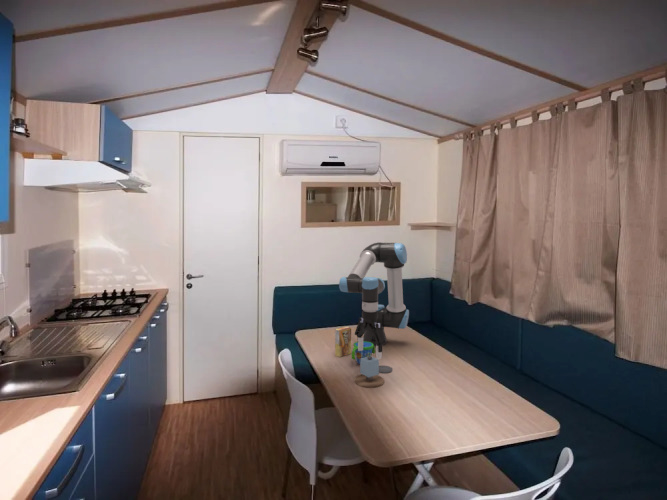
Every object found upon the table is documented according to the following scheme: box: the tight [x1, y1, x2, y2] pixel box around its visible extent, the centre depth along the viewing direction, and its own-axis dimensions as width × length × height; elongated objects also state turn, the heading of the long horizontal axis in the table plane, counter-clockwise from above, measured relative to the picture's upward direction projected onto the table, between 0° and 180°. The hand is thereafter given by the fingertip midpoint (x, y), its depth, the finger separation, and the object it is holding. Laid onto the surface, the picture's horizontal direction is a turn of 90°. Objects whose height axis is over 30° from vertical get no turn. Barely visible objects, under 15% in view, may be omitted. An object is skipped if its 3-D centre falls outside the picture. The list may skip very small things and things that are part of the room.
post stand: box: [354, 374, 385, 389], centre depth 190 cm, size 14×14×10 cm
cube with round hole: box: [359, 355, 380, 377], centre depth 189 cm, size 6×6×8 cm
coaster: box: [379, 364, 393, 374], centre depth 204 cm, size 9×9×1 cm
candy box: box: [334, 326, 352, 358], centre depth 226 cm, size 9×4×15 cm, turn 129°
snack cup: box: [351, 341, 376, 365], centre depth 214 cm, size 16×10×10 cm
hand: (369, 354), depth 189 cm, fingers open, 13 cm apart
